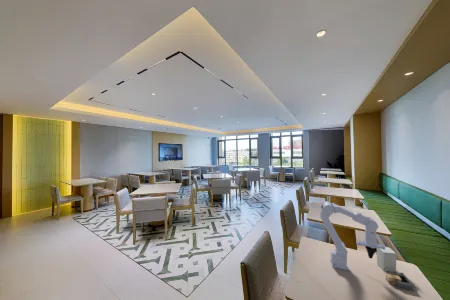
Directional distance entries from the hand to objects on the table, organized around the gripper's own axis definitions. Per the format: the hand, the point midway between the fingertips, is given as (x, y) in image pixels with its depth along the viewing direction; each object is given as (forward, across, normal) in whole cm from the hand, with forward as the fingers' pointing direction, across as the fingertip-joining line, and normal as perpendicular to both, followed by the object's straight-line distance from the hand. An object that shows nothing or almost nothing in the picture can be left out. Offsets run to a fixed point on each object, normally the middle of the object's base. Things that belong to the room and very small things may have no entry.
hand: (370, 257), depth 115 cm
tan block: (+10, +10, -6) cm, 15 cm away
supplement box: (+10, +12, +8) cm, 17 cm away
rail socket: (+10, +13, -5) cm, 17 cm away
